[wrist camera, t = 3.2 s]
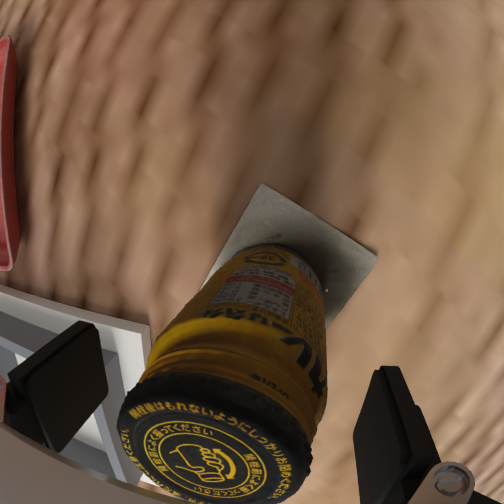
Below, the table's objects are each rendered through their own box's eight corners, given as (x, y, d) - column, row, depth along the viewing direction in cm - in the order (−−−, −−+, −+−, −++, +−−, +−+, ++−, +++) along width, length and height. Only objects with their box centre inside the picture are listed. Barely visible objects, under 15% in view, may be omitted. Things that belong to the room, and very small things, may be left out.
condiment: (190, 307, 19) (71, 447, 8) (261, 182, 17) (154, 216, 5) (292, 368, 19) (263, 544, 8) (378, 256, 16) (470, 406, 5)
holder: (-9, 281, 23) (-40, 296, 19) (149, 325, 20) (116, 358, 16) (35, 422, 28) (15, 441, 24) (170, 480, 25) (155, 511, 21)
